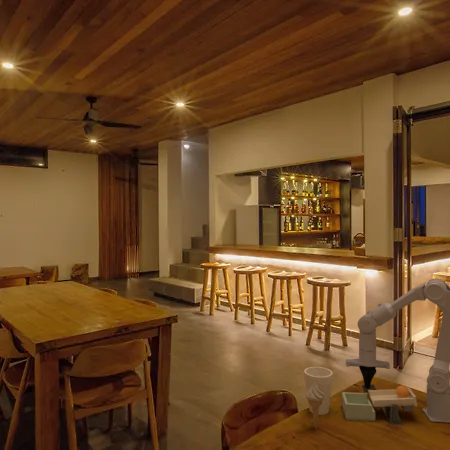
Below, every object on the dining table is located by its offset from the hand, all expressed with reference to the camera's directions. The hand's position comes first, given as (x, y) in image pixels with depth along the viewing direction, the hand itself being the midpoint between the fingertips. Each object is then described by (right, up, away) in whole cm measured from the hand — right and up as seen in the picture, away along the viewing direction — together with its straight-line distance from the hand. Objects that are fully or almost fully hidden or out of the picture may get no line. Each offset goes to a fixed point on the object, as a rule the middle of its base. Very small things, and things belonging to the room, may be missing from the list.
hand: (367, 387), depth 138 cm
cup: (-6, -5, -9) cm, 12 cm away
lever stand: (+4, -5, -10) cm, 12 cm away
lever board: (+5, -2, -6) cm, 8 cm away
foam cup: (-18, -6, -6) cm, 20 cm away
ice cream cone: (-22, -6, -18) cm, 29 cm away
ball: (+8, +3, -11) cm, 14 cm away
